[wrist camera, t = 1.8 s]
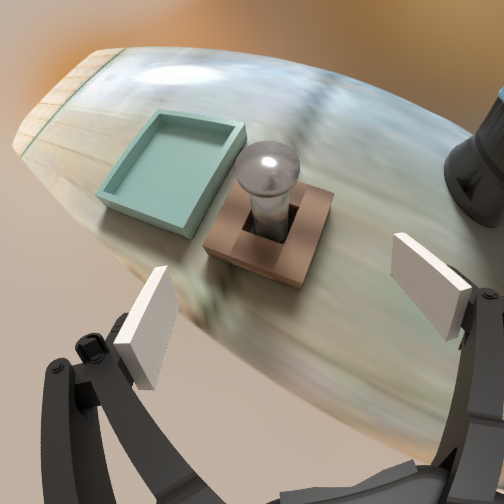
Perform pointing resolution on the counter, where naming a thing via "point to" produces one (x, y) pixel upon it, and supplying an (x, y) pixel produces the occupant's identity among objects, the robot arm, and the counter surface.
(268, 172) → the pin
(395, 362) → the counter surface
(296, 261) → the holder
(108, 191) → the tray
